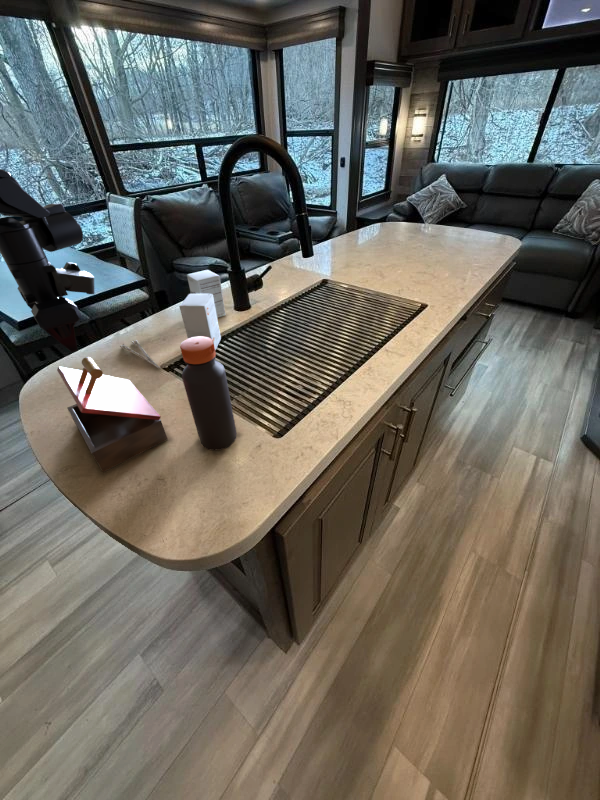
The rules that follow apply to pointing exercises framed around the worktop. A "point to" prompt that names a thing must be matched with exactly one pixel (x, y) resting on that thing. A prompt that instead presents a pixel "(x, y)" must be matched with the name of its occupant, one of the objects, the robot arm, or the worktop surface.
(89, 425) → the valve box
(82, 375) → the lid
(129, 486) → the worktop surface
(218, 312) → the white packaging box
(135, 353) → the tweezers
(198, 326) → the small box
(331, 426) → the worktop surface
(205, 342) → the dark bottle
